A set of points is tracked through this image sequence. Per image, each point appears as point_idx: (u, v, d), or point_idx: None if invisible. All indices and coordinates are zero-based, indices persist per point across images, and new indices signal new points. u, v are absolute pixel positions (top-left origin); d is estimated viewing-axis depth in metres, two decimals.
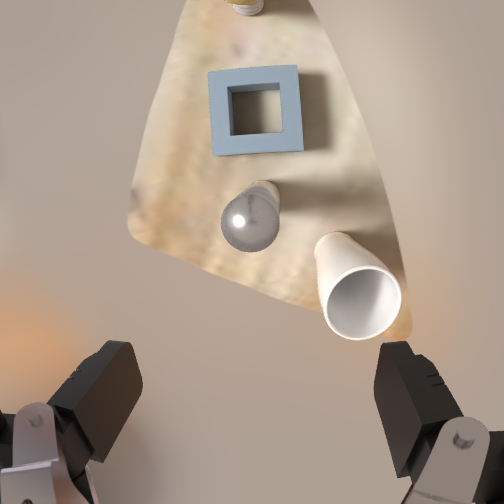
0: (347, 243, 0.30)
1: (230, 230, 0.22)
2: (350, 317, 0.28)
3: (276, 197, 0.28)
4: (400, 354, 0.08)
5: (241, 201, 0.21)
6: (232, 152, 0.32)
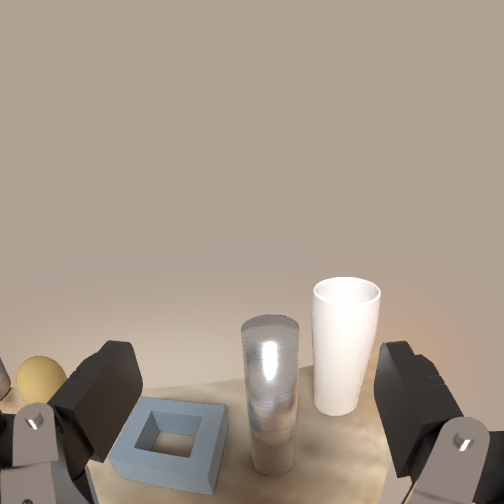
0: None
1: (275, 338, 0.20)
2: None
3: None
4: (400, 354, 0.08)
5: (246, 331, 0.21)
6: (209, 459, 0.23)
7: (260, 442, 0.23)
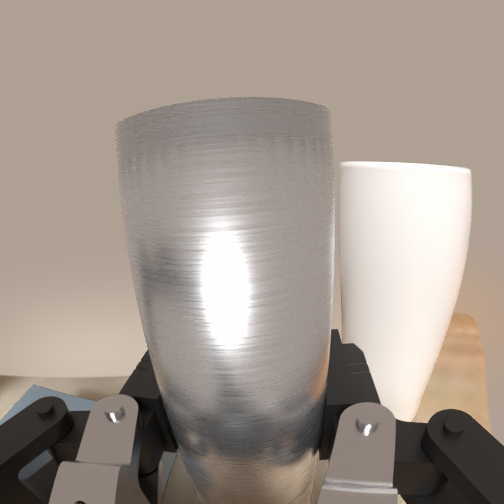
0: (342, 309, 0.16)
1: None
2: None
3: None
4: None
5: None
6: None
7: None
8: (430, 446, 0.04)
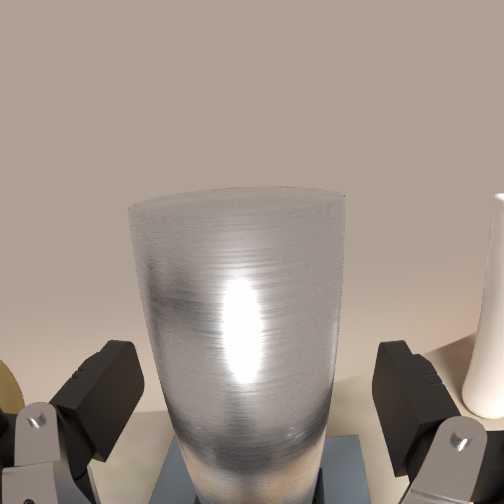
0: (489, 318, 0.15)
1: (248, 205, 0.05)
2: None
3: None
4: (398, 353, 0.08)
5: (148, 204, 0.06)
6: None
7: None
8: None
